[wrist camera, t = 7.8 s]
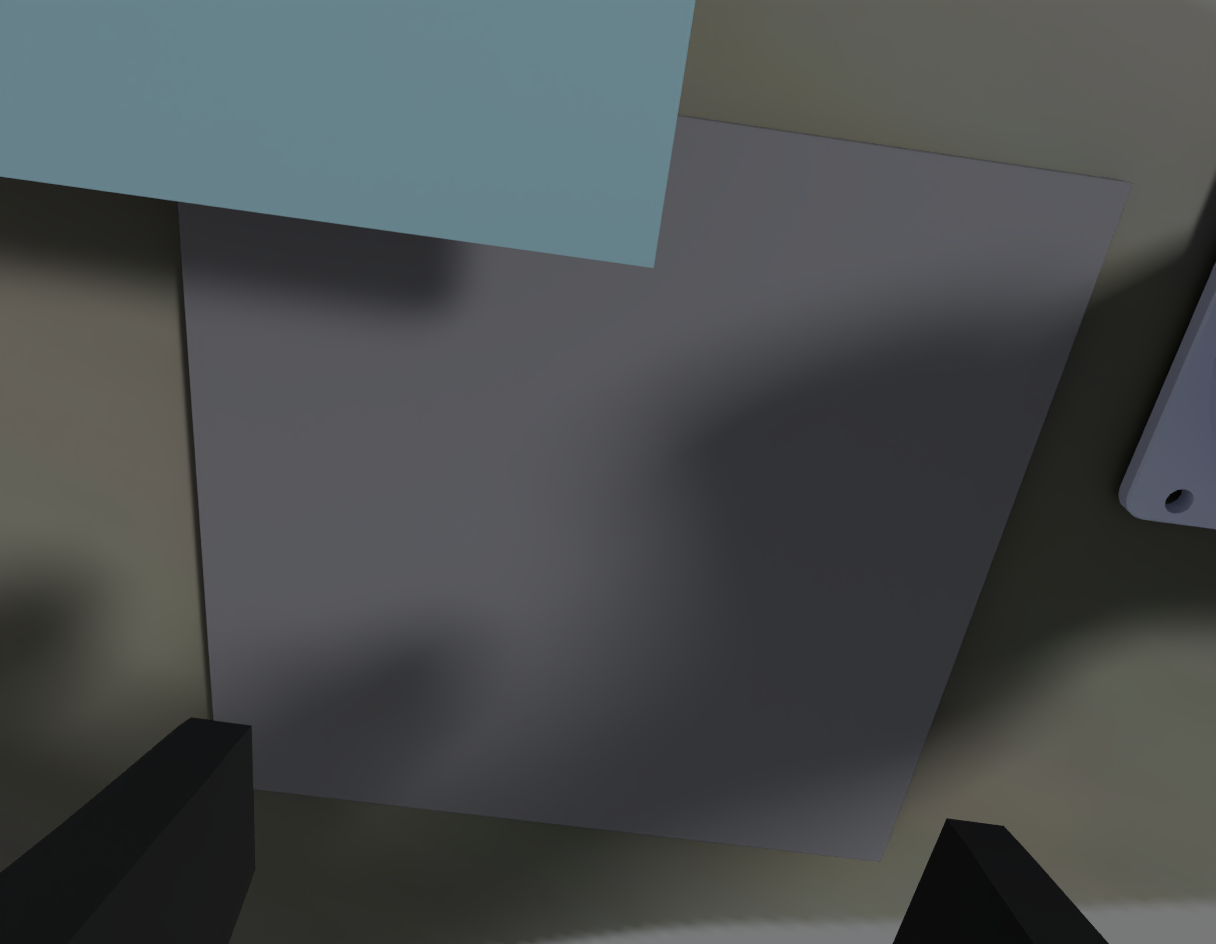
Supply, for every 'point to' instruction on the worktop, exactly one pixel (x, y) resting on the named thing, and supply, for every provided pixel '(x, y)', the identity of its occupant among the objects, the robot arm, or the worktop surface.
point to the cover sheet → (361, 111)
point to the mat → (629, 487)
